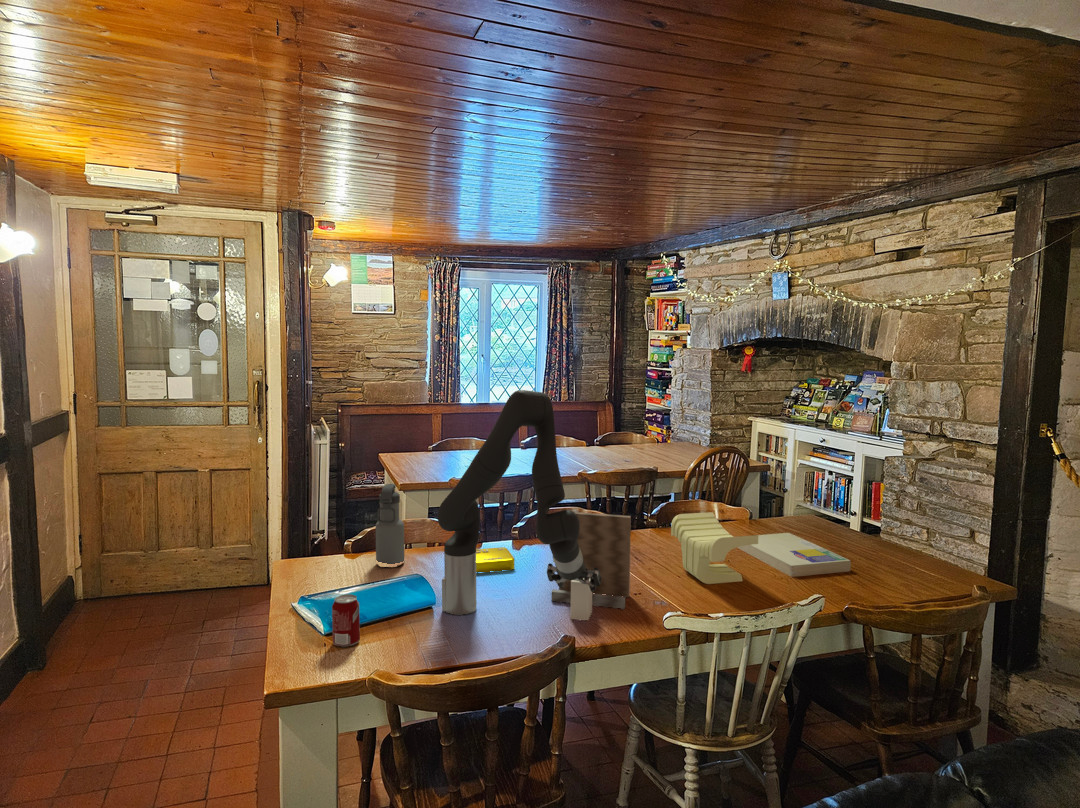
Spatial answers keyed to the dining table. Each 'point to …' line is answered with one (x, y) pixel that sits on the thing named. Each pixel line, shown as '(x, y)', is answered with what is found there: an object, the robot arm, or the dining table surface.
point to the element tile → (494, 559)
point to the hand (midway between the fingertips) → (577, 587)
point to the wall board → (604, 558)
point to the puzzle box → (796, 555)
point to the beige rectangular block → (580, 600)
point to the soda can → (345, 620)
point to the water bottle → (389, 527)
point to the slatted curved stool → (707, 546)
